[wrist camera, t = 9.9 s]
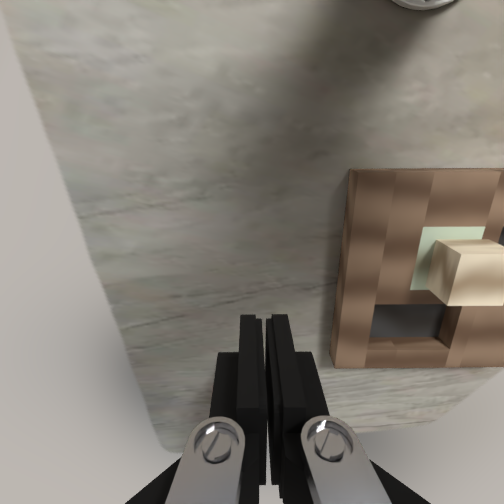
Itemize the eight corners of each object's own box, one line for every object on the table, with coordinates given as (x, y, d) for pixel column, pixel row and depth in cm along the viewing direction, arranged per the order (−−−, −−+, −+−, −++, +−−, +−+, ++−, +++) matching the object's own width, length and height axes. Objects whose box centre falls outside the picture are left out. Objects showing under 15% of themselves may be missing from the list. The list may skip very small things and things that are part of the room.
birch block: (436, 239, 35) (461, 254, 31) (488, 239, 35) (520, 254, 31) (425, 286, 38) (447, 306, 33) (474, 286, 38) (502, 305, 34)
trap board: (350, 168, 35) (358, 172, 33) (559, 167, 36) (586, 171, 33) (329, 353, 45) (334, 368, 42) (494, 352, 45) (510, 366, 42)
